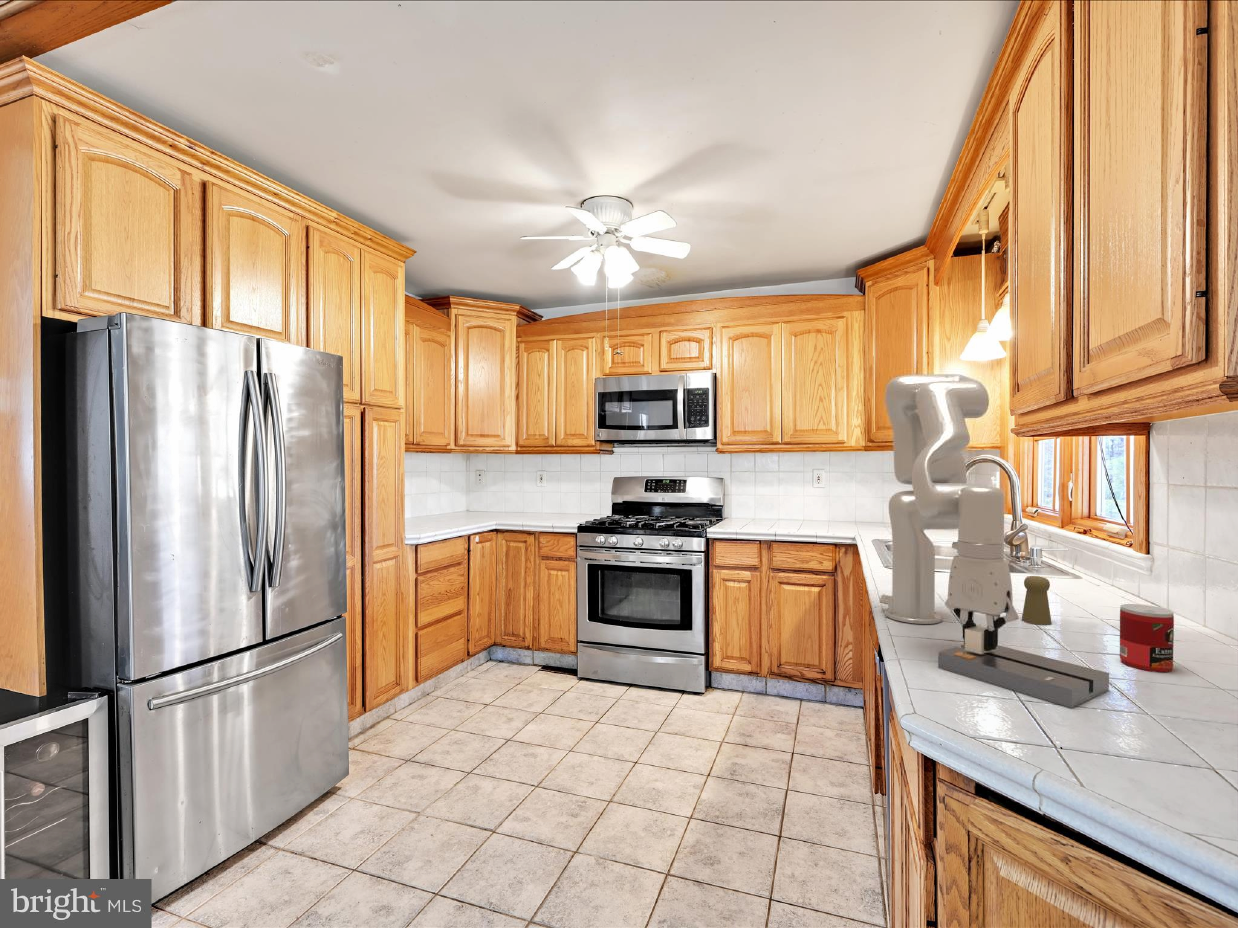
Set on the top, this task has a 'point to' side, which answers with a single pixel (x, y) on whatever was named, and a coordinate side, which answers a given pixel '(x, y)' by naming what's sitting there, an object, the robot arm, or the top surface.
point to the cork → (1036, 601)
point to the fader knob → (975, 639)
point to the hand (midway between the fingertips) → (979, 646)
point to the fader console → (1028, 674)
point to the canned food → (1146, 637)
